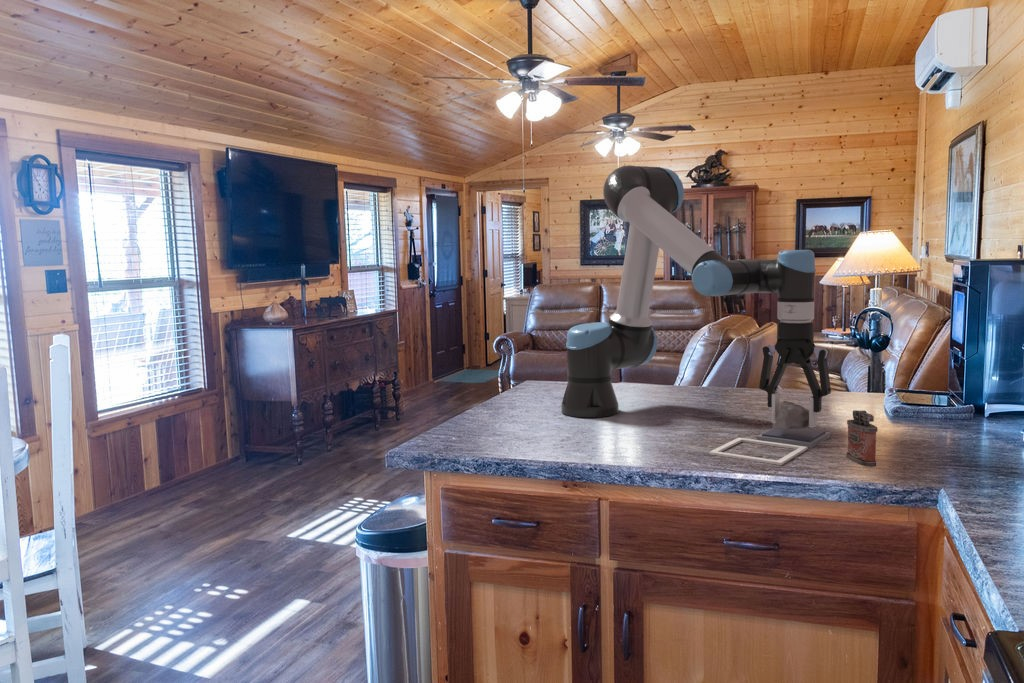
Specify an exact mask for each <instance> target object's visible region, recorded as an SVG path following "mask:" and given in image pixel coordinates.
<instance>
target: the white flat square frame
mask: <svg viewBox="0 0 1024 683" xmlns="http://www.w3.org/2000/svg"><path fill="white" fill-rule="evenodd" d="M741 442H743V443H749V444H755V445H756V444H758V445H763V446H770V447H771V446H772V447H778V448H785V449H792V450H793V451H791V452H789V453H787V454H786V455H785V456H783V457H780V458H779V459H778V460H777V459H776V460H775V459H771V458H763V457H756V456H748V455H743V454H737V453H729V452H724V451H726V450H729V449H730V448H732V447H733V446H736V445H738V444H740V443H741ZM808 449H809V448H808V447H805V446H797V445H790V444H782V443H775V442H768V441H760V440H757V439H752V438H745V437H737V438H735V439H733V440H731V441H729V442H727V443H724V444H723V445H720V446H718V447H715V448H714V449H712V450H711V451H709V452H708V454H709V455H712V456H718V457H725V458H731V459H738V460H745V461H751V462H756V463H757V462H758V463H762V464H769V465H777V466H782V465H784V464H786V463H788V462H789V461H790V460H793V459H794V458H796V457H797V456H799V455H800V454H802V453H804V452H805V451H807V450H808Z"/></svg>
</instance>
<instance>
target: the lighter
mask: <svg viewBox="0 0 1024 683" xmlns="http://www.w3.org/2000/svg"><path fill="white" fill-rule="evenodd" d="M874 418H875V416H874V415H873V414H871V413H869V412H867V411H866V410H863V409H862V410H859V409H858V410H857V409H856V410H855V409H854V410H852V419H848V420H846V425H847V452H846V453H845V454H846V456H845V457H846V459H848V460H850V462H853V463H855V464H857V465H859V466H863V467H866V468H875V467H877V459H876V454H877V451H876V450H877V449H876V448H877V432H878V427H877V426H876V425H874V424H872V422H874V420H875V419H874Z"/></svg>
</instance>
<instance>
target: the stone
mask: <svg viewBox="0 0 1024 683" xmlns="http://www.w3.org/2000/svg"><path fill="white" fill-rule="evenodd" d="M772 428H775V429H784V430H788V429H800V428H809V409H806V408H805V407H803V405H799V404H795V403H794V402H792V401H786V400H783V402H781V403H780V404H779V409H778V413H777V418H776V419H775V422H774V423H772Z"/></svg>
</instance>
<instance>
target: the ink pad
mask: <svg viewBox="0 0 1024 683" xmlns="http://www.w3.org/2000/svg"><path fill="white" fill-rule="evenodd" d="M829 438H831V432H830V431H826V430H821V429H814V428H807V427H805V428H800V429H788V430H784V429H775V428H773V427H771V429H767V430H766V431H765V432H762V433H760V434H758V435H757V436H756V440H760V441H768V442H775V443H782V444H790V445H797V446H805V447H808V449H809V448H810V449H813V448H815V447H817V446H818V445H820V444H822V443H823V442H824V441H826V440H828V439H829Z"/></svg>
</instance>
